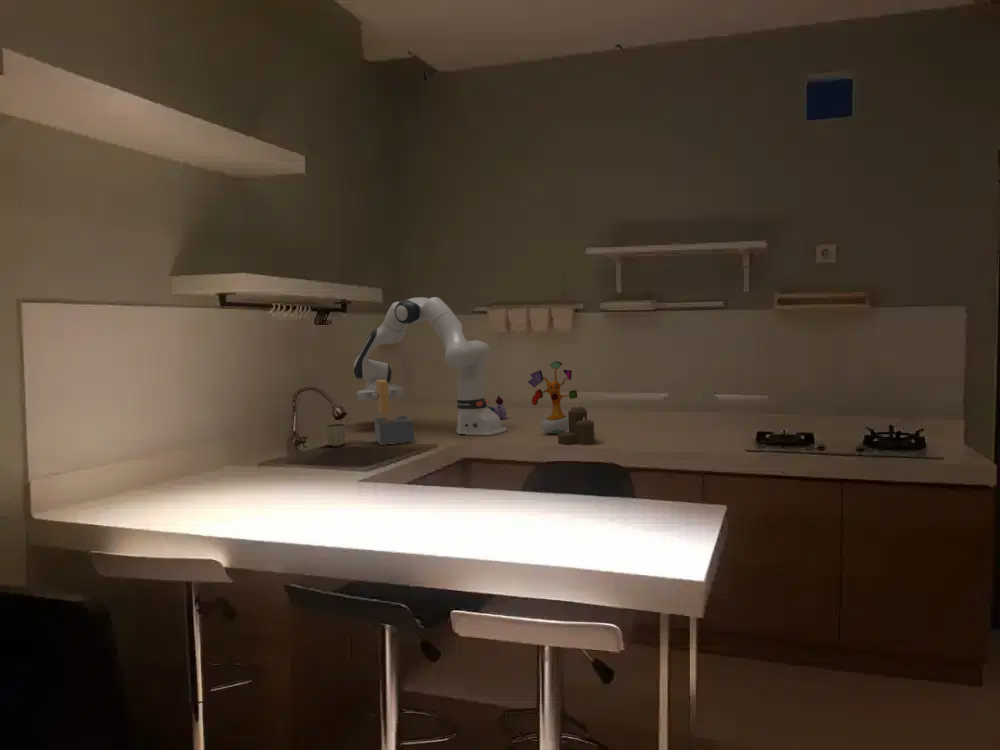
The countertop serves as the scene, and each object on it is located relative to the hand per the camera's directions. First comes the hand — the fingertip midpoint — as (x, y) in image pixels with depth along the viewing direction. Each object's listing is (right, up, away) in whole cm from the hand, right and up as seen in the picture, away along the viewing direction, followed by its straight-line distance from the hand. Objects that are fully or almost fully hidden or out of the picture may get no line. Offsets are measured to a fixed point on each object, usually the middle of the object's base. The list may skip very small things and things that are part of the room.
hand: (383, 395), depth 373 cm
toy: (+47, -12, +22) cm, 53 cm away
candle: (+82, -17, -43) cm, 94 cm away
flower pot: (-16, -20, -25) cm, 36 cm away
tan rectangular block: (0, -7, +2) cm, 8 cm away
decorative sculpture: (+75, -16, -24) cm, 80 cm away
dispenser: (+8, -19, -23) cm, 31 cm away
